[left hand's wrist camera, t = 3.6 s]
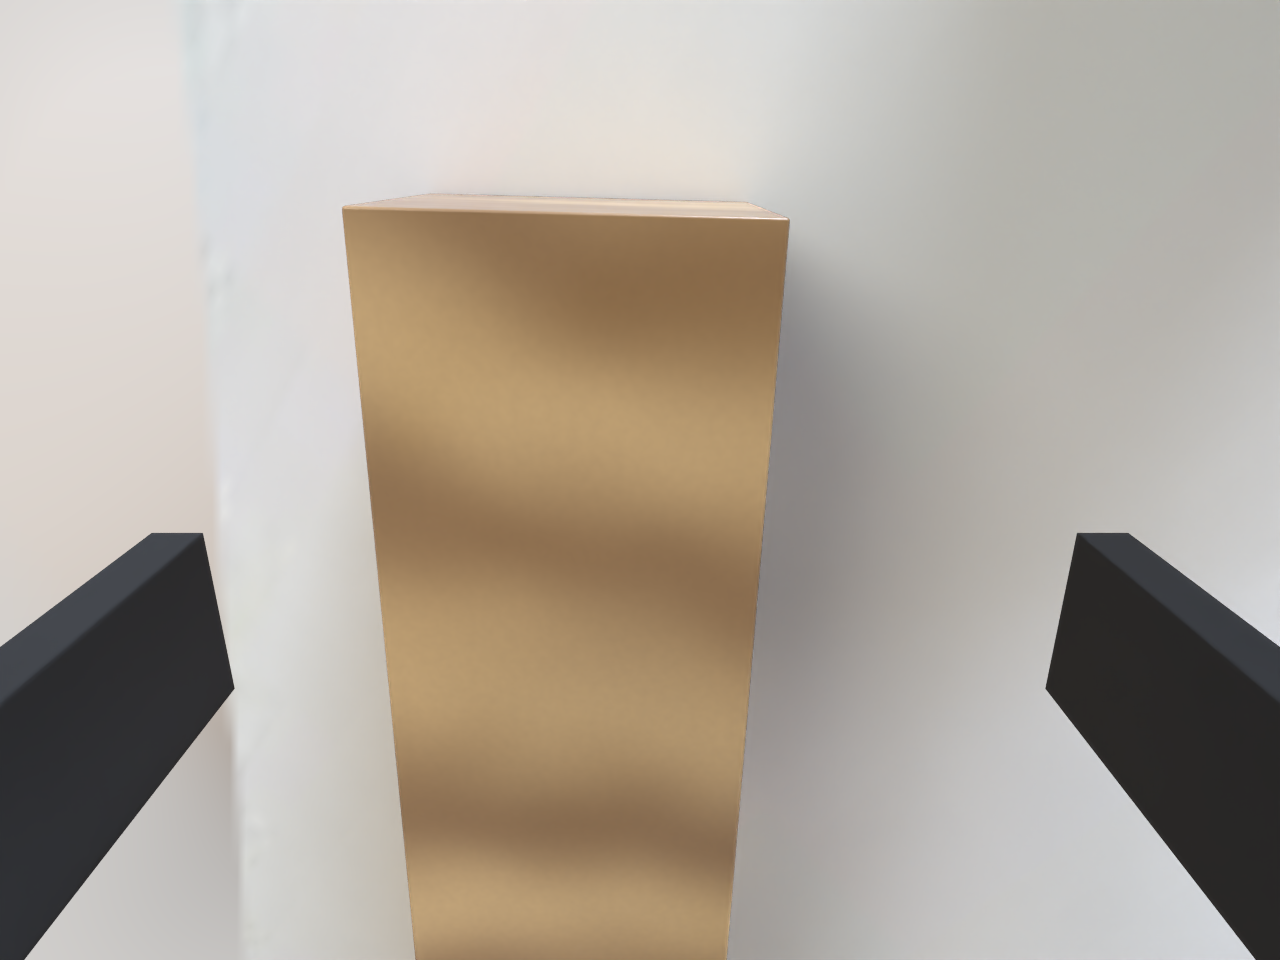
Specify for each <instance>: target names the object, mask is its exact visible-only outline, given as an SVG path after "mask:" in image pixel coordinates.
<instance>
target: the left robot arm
mask: <svg viewBox="0 0 1280 960" xmlns="http://www.w3.org/2000/svg"><path fill="white" fill-rule="evenodd" d="M234 689H235V688H234V684H233V679H232V674H231V669H230V664H229V659H228V654H227V649H226V644H225V639H224V634H223V630H222V625H221V620H220V615H219V610H218V605H217V600H216V595H215V590H214V585H213V581H212V576H211V571H210V566H209V561H208V556H207V551H206V546H205V541H204V537H203V533H151V534H150V535H149V536H147V537H146V538H145V539H143V540H142V541H141V542H139V543H138V544H137V545H135V546H134V547H133V548H131V549H130V550H129V551H127V552H126V553H125V554H123V555H122V556H121V557H119V558H118V559H117V560H115V561H114V562H113V563H111V564H110V565H109V566H107V567H106V568H105V569H103V570H102V571H101V572H99V573H98V574H97V575H95V576H94V577H93V578H91V579H90V580H89V581H87V582H86V583H85V584H83V585H82V586H81V587H80V588H78V589H77V590H75V591H74V592H73V593H72V594H70V595H69V596H67V597H66V598H65V599H64V600H62V601H61V602H60V603H58V604H57V605H55V606H54V607H53V608H52V609H50V610H49V611H48V612H46V613H45V614H44V615H42V616H41V617H40V618H38V619H37V620H36V621H34V622H33V623H32V624H30V625H29V626H28V627H26V628H25V629H24V630H22V631H21V632H20V633H18V634H17V635H16V636H14V637H13V638H12V639H10V640H9V641H8V642H6V643H5V644H4V645H2V646H1V647H0V960H24V959H25V958H26V957H27V955H28V954H29V953H30V952H31V950H32V949H33V948H34V946H35V945H36V944H37V942H38V941H39V940H40V939H41V937H42V936H43V935H44V933H45V932H46V931H47V930H48V928H49V927H50V926H51V925H52V923H53V922H54V921H55V919H56V918H57V917H58V915H59V914H60V913H61V912H62V910H63V909H64V908H65V906H66V905H67V904H68V903H69V901H70V900H71V899H72V897H73V896H74V895H75V893H76V892H77V891H78V890H79V888H80V887H81V886H82V885H83V883H84V882H85V881H86V879H87V878H88V877H89V875H90V874H91V873H92V872H93V870H94V869H95V868H96V866H97V865H98V864H99V863H100V861H101V860H102V859H103V857H104V856H105V855H106V854H107V852H108V851H109V850H110V848H111V847H112V846H113V845H114V843H115V842H116V841H117V839H118V838H119V837H120V836H121V834H122V833H123V832H124V830H125V829H126V828H127V827H128V825H129V824H130V823H131V821H132V820H133V819H134V817H135V816H136V815H137V814H138V812H139V811H140V810H141V808H142V807H143V806H144V805H145V803H146V802H147V801H148V799H149V798H150V797H151V796H152V794H153V793H154V792H155V790H156V789H157V788H158V787H159V785H160V784H161V783H162V781H163V780H164V779H165V777H166V776H167V775H168V774H169V772H170V771H171V770H172V768H173V767H174V766H175V765H176V763H177V762H178V761H179V759H180V758H181V757H182V756H183V754H184V753H185V752H186V750H187V749H188V748H189V747H190V745H191V744H192V743H193V741H194V740H195V739H196V738H197V736H198V735H199V734H200V732H201V731H202V730H203V729H204V727H205V726H206V725H207V723H208V722H209V721H210V719H211V718H212V717H213V716H214V714H215V713H216V712H217V710H218V709H219V708H220V707H221V705H222V704H223V703H224V701H225V700H226V699H227V698H228V696H229V695H230V694H231V692H232V691H233V690H234ZM1045 689H1046V690H1047V691H1048V692H1049V694H1050V695H1051V696H1052V698H1053V699H1054V700H1055V701H1056V703H1057V704H1058V705H1059V707H1060V708H1061V709H1062V710H1063V712H1064V713H1065V714H1066V716H1067V717H1068V718H1069V720H1070V721H1071V722H1072V723H1073V725H1074V726H1075V727H1076V729H1077V730H1078V731H1079V732H1080V734H1081V735H1082V736H1083V738H1084V739H1085V740H1086V741H1087V743H1088V744H1089V745H1090V747H1091V748H1092V749H1093V750H1094V752H1095V753H1096V754H1097V756H1098V757H1099V758H1100V759H1101V761H1102V762H1103V763H1104V765H1105V766H1106V767H1107V769H1108V770H1109V771H1110V772H1111V774H1112V775H1113V776H1114V778H1115V779H1116V780H1117V781H1118V783H1119V784H1120V785H1121V787H1122V788H1123V789H1124V790H1125V792H1126V793H1127V794H1128V796H1129V797H1130V798H1131V799H1132V801H1133V802H1134V803H1135V805H1136V806H1137V807H1138V808H1139V810H1140V811H1141V812H1142V814H1143V815H1144V816H1145V818H1146V819H1147V820H1148V821H1149V823H1150V824H1151V825H1152V827H1153V828H1154V829H1155V830H1156V832H1157V833H1158V834H1159V836H1160V837H1161V838H1162V839H1163V841H1164V842H1165V843H1166V845H1167V846H1168V847H1169V848H1170V850H1171V851H1172V852H1173V854H1174V855H1175V856H1176V857H1177V859H1178V860H1179V861H1180V863H1181V864H1182V865H1183V867H1184V868H1185V869H1186V870H1187V872H1188V873H1189V874H1190V876H1191V877H1192V878H1193V879H1194V881H1195V882H1196V883H1197V885H1198V886H1199V887H1200V888H1201V890H1202V891H1203V892H1204V894H1205V895H1206V896H1207V897H1208V899H1209V900H1210V901H1211V903H1212V904H1213V905H1214V906H1215V908H1216V909H1217V910H1218V912H1219V913H1220V914H1221V915H1222V917H1223V918H1224V919H1225V921H1226V922H1227V923H1228V925H1229V926H1230V927H1231V928H1232V930H1233V931H1234V932H1235V934H1236V935H1237V936H1238V937H1239V939H1240V940H1241V941H1242V943H1243V944H1244V945H1245V946H1246V948H1247V949H1248V950H1249V952H1250V953H1251V954H1252V955H1253V957H1254V958H1255V959H1256V960H1280V647H1279V646H1278V645H1276V644H1275V643H1274V642H1272V641H1271V640H1270V639H1268V638H1267V637H1266V636H1264V635H1263V634H1262V633H1260V632H1259V631H1258V630H1256V629H1255V628H1254V627H1252V626H1251V625H1250V624H1248V623H1247V622H1246V621H1244V620H1243V619H1242V618H1240V617H1239V616H1238V615H1236V614H1235V613H1234V612H1232V611H1231V610H1230V609H1228V608H1227V607H1226V606H1224V605H1223V604H1222V603H1221V602H1219V601H1218V600H1217V599H1215V598H1214V597H1213V596H1211V595H1210V594H1209V593H1207V592H1206V591H1205V590H1203V589H1202V588H1201V587H1199V586H1198V585H1197V584H1195V583H1194V582H1193V581H1191V580H1190V579H1189V578H1187V577H1186V576H1185V575H1183V574H1182V573H1181V572H1179V571H1178V570H1177V569H1175V568H1174V567H1173V566H1171V565H1170V564H1169V563H1167V562H1166V561H1165V560H1163V559H1162V558H1161V557H1159V556H1158V555H1157V554H1155V553H1154V552H1153V551H1151V550H1150V549H1149V548H1147V547H1146V546H1145V545H1143V544H1142V543H1141V542H1139V541H1138V540H1137V539H1135V538H1134V537H1133V536H1131V535H1130V534H1129V533H1077V536H1076V541H1075V546H1074V551H1073V556H1072V561H1071V566H1070V571H1069V576H1068V581H1067V585H1066V590H1065V595H1064V600H1063V605H1062V610H1061V615H1060V620H1059V625H1058V630H1057V634H1056V639H1055V644H1054V649H1053V654H1052V659H1051V664H1050V669H1049V674H1048V679H1047V683H1046V688H1045Z"/></svg>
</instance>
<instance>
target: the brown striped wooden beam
mask: <svg viewBox="0 0 1280 960" xmlns="http://www.w3.org/2000/svg"><path fill="white" fill-rule="evenodd" d="M342 213H343V223H344V234H345V244H346V254H347V264H348V274H349V285H350V295H351V305H352V315H353V325H354V336H355V346H356V356H357V366H358V376H359V387H360V397H361V407H362V417H363V427H364V438H365V448H366V458H367V468H368V478H369V489H370V499H371V509H372V519H373V529H374V540H375V550H376V560H377V570H378V580H379V591H380V601H381V611H382V621H383V631H384V642H385V652H386V662H387V672H388V682H389V693H390V703H391V713H392V723H393V733H394V744H395V754H396V764H397V774H398V784H399V795H400V805H401V815H402V825H403V835H404V846H405V856H406V866H407V876H408V886H409V897H410V907H411V917H412V927H413V937H414V948H415V958H416V960H727V949H728V938H729V926H730V914H731V902H732V891H733V879H734V867H735V856H736V844H737V832H738V821H739V809H740V797H741V786H742V774H743V762H744V750H745V739H746V727H747V715H748V704H749V692H750V680H751V669H752V657H753V645H754V634H755V622H756V610H757V598H758V587H759V575H760V563H761V552H762V540H763V528H764V517H765V505H766V493H767V482H768V470H769V458H770V446H771V435H772V423H773V411H774V400H775V388H776V376H777V365H778V353H779V341H780V330H781V318H782V306H783V294H784V283H785V271H786V259H787V248H788V236H789V224H790V220H789V218H786V217H784V216H781V215H779V214H776V213H774V212H771V211H768V210H766V209H763V208H761V207H758V206H756V205H753V204H750V203H748V202H724V201H687V200H649V199H612V198H574V197H537V196H499V195H462V194H424V195H417V196H410V197H403V198H396V199H389V200H382V201H375V202H368V203H361V204H354V205H348V206H344V207H343V208H342Z"/></svg>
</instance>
